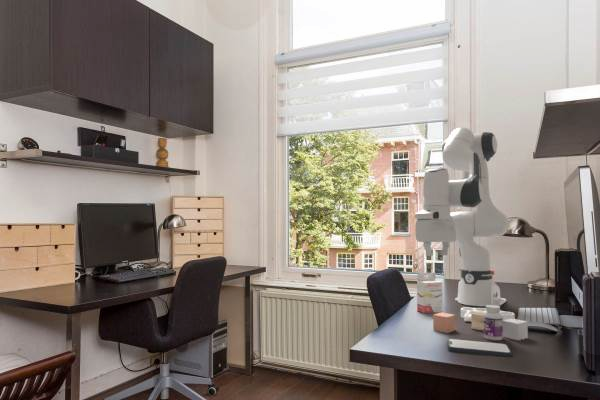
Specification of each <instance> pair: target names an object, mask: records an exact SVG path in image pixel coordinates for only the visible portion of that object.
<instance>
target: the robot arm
mask: <svg viewBox="0 0 600 400" xmlns="http://www.w3.org/2000/svg"><path fill="white" fill-rule="evenodd" d="M497 149H498V141H497V138H496V136H495V134H494V133H493V132H487V131H483V132H478V133H477V132H475V133H473V131H472V130H471V129H469V128H467V127H457V128H456V129H454V130H453V131H452V132H451V133H450V134H449V136H448V138H447V139H445V140H444V141H443V142H442V147H441V152H442V154H441V155H442V160H443V162H444V164H445V165H446V166H448V168H451V169H453V170H455V171H461V175H460V178H461V179H450V176H449V170H448V169H447V168H443V167H442V168H441V167H439V168H429V169H427V170H425V172H424V175H423V186H422V188H423V189H422V195H423V198H424V199H423V201H424V202H423V204H422V205H423V206H422V209H421V210H420V211H418V212H415V213H414V219H415V220H416V221H415V223H414V224H415V225H414V226H415V229H414V230H415V231H414V234H415V239H416V242H419V243H423V248H424V251H425V256H426V257H432V256H433V255H434V251H433V250H432V247H431V246H432V243H441V245H442V249H440V255H441V256H448V255H449V254H448V253H449V252H448V251H449V248H450V245H451V244H450V243H456V244H457V245H458V247H459V251H460V257H461V269H460V278H461V279H460V280H459V281H458V286H457V297H455V299H454V300H455V302H458V303H459V304H461V305H462V304H463V305H465V306H472V307H486V305H496V306H499V307H501V306H502V305H503V304H504V303H506V302H507V299H506V298H503V297H501V289H500V287H499V286H498V284H497V283H496V282H495V281H494V279H493V276H494V275H495V270H494V269H491V257H490V256H491V255H490V251H489V250H488V249H487V248H486V247H484V246H483V245H481V244H478V243H477V242H475V240H474V238H495V237H500V236H504V235H505V234H507V232H508V230H509V228H510V227H509V226H510V223H509V219H508V217H507V215H506V214H505V213H503V212H502V211H501V210H500V209H498V208H497V207H496V206H495V204H494V202H493V201H492V199H491V195H490V186H489V169H488V164H487V163H488V162H489V161H490V160H491V158H493V157H494V156H495V154H496V153H497ZM451 207H452V208H454V207H457V208H459V207H461V208H462V207H463V208H464V207H465V208H476V210H465V211H464V210H463V211H462V210H461V211H460V210H457V211H454V212H453V211H452V212H451Z"/></svg>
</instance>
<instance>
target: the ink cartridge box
mask: <svg viewBox="0 0 600 400" xmlns="http://www.w3.org/2000/svg"><path fill="white" fill-rule="evenodd" d="M425 276H426V277H425ZM428 276H429V277H428ZM416 297H417V298H416V307H417V308H416V311H418V312H419V313H423V314H431V313H432V314H433V313H435V314H436V313H441V312H442V313H443V281H441V280H436V272H422V273H421V272H418V273H417V281H416Z"/></svg>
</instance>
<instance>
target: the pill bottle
mask: <svg viewBox="0 0 600 400" xmlns="http://www.w3.org/2000/svg"><path fill="white" fill-rule="evenodd" d="M485 308H486V311H487V312H485V313H484V315H483V318H484V330H483V337H484V338H485V339H486V340H490V341H501V340H503V339H504V337H503V316H502V314H501V313H499V312H500V311H501V306H496V305H486V306H485Z"/></svg>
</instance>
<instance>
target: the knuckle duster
mask: <svg viewBox="0 0 600 400" xmlns="http://www.w3.org/2000/svg"><path fill="white" fill-rule="evenodd" d="M474 311H480V312H487V311H486V307H469V306H468V307H467V306H466V307H464V306H463V307H461V308H460V318H463V321H464V322H467V323H468V322H469V323H471V314H472V313H473V312H474ZM499 313H501V314H502V316H503V320H507V319H516V314H515V313H514V312H511V311H506V310H505V311H504V310H500V312H499Z"/></svg>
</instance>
